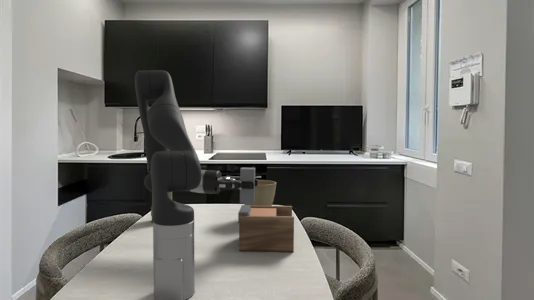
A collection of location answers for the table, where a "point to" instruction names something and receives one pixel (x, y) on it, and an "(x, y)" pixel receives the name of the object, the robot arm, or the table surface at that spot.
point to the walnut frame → (267, 231)
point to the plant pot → (264, 193)
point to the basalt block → (247, 194)
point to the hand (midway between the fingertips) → (255, 184)
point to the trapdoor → (256, 211)
